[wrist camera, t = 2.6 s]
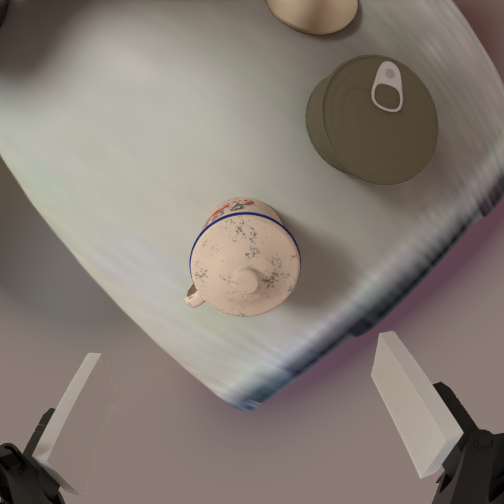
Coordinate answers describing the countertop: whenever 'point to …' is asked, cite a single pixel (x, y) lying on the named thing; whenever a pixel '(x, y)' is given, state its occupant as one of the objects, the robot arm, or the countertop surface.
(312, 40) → the countertop surface
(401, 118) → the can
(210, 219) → the teacup with lid
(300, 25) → the beech coaster
